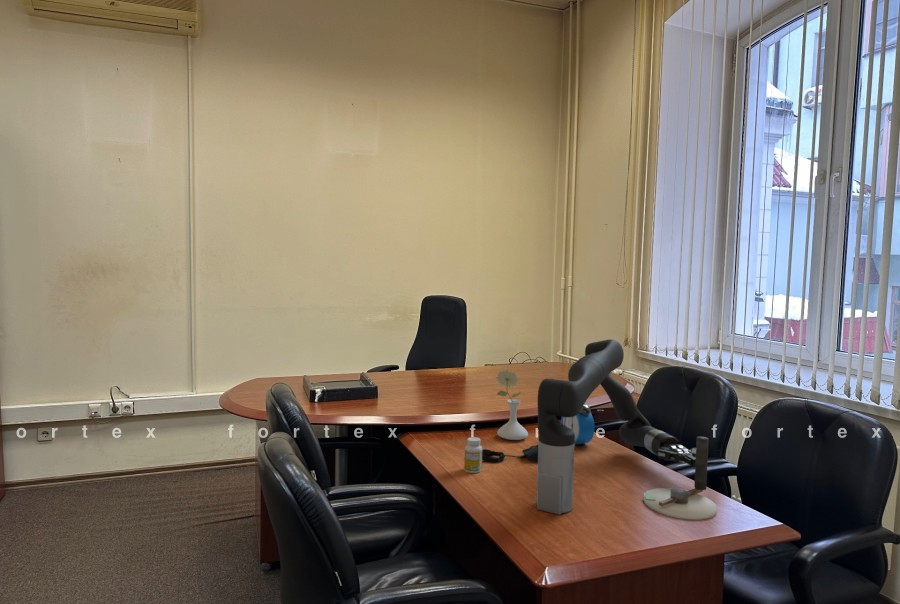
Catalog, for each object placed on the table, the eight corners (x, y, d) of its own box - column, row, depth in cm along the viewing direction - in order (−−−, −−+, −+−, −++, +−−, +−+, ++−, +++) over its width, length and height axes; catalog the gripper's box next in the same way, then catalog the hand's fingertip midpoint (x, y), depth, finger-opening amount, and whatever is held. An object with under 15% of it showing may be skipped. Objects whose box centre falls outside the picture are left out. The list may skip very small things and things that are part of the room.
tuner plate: (713, 526, 136) (713, 520, 136) (637, 509, 145) (637, 504, 145) (718, 500, 152) (719, 496, 152) (649, 486, 161) (649, 482, 161)
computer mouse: (571, 463, 180) (571, 446, 180) (472, 464, 177) (472, 447, 176) (562, 453, 190) (562, 438, 189) (468, 455, 186) (468, 438, 186)
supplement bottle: (471, 466, 175) (472, 435, 174) (485, 470, 171) (486, 439, 171) (460, 470, 170) (461, 439, 170) (474, 474, 167) (475, 442, 167)
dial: (668, 510, 142) (670, 451, 141) (652, 504, 145) (655, 446, 144) (710, 493, 153) (713, 439, 152) (695, 488, 157) (698, 435, 156)
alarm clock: (560, 438, 206) (561, 398, 205) (574, 437, 208) (575, 397, 207) (579, 449, 194) (581, 406, 193) (594, 448, 196) (596, 405, 195)
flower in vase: (533, 437, 207) (535, 370, 206) (520, 444, 198) (522, 374, 196) (501, 431, 214) (503, 366, 213) (487, 438, 204) (489, 370, 203)
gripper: (642, 433, 172) (675, 450, 155) (681, 431, 175) (717, 449, 158) (641, 456, 173) (673, 477, 156) (680, 455, 175) (716, 475, 158)
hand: (695, 463), depth 157 cm, fingers closed
